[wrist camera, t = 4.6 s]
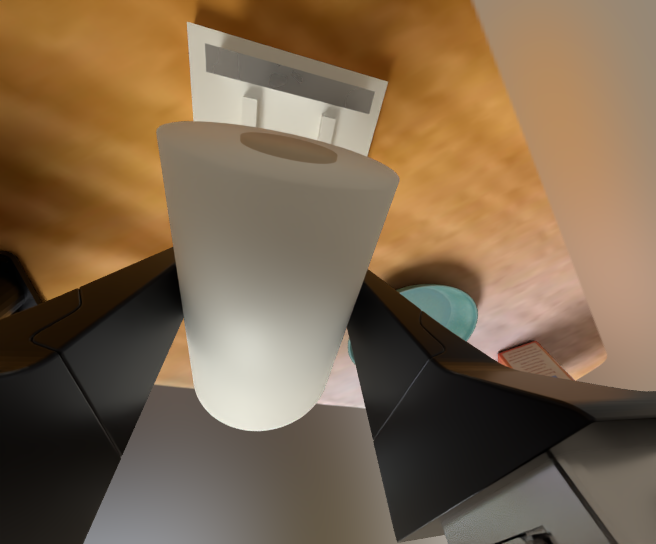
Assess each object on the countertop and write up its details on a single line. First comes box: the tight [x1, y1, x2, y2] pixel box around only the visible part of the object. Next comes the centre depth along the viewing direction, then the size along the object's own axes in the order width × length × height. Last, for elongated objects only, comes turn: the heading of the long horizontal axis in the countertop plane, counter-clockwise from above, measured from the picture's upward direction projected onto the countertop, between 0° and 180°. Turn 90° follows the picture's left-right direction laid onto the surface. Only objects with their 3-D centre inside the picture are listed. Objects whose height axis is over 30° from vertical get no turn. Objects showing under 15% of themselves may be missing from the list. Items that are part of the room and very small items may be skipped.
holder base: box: [187, 22, 388, 156], centre depth 18 cm, size 14×11×2 cm
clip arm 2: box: [205, 43, 375, 114], centre depth 13 cm, size 1×8×3 cm, turn 77°
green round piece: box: [348, 284, 478, 365], centre depth 29 cm, size 15×15×3 cm
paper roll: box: [156, 121, 399, 431], centre depth 8 cm, size 8×5×5 cm, turn 168°
